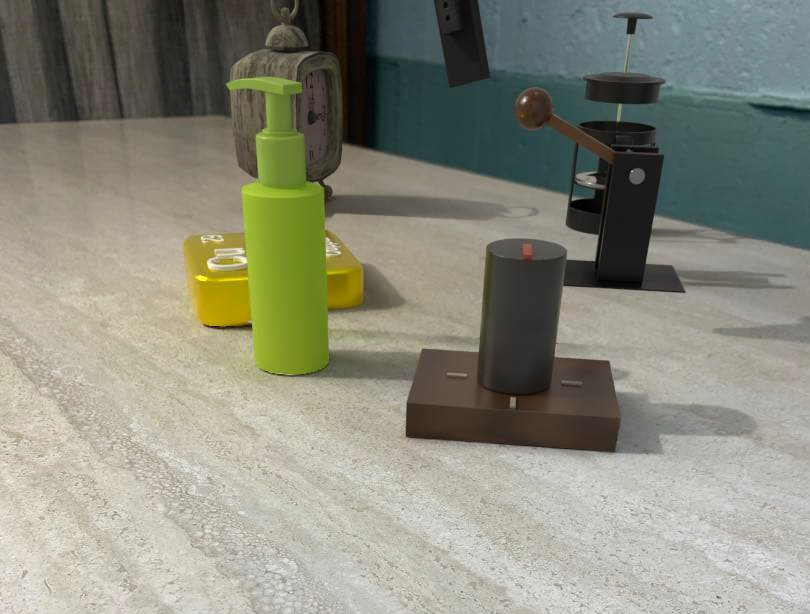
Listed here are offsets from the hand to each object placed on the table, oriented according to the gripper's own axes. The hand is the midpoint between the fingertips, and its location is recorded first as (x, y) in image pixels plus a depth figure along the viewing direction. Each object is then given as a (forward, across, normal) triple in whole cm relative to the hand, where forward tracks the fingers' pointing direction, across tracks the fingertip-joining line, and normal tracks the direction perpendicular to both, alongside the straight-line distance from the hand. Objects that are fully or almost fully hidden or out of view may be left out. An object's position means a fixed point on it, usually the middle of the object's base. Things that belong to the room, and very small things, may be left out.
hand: (469, 82), depth 64 cm
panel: (+22, +12, +4) cm, 25 cm away
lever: (+8, -20, +1) cm, 21 cm away
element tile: (+14, -1, -24) cm, 28 cm away
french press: (+19, -41, -4) cm, 45 cm away
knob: (+19, +12, +5) cm, 23 cm away
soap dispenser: (+16, +11, -15) cm, 25 cm away
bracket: (+21, -22, +3) cm, 30 cm away
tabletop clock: (+7, -34, -43) cm, 55 cm away
